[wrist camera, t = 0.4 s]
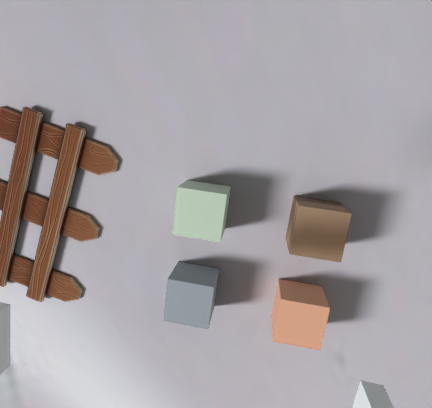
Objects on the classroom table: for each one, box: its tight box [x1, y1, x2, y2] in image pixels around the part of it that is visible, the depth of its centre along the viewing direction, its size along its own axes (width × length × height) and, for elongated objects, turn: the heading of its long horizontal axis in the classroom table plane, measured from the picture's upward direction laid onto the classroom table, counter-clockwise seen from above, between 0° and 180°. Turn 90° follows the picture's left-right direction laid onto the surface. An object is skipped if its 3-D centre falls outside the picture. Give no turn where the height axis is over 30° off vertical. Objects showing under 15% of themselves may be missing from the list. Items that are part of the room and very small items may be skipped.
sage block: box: [172, 180, 231, 242], centre depth 36 cm, size 5×5×5 cm
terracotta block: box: [271, 279, 330, 351], centre depth 37 cm, size 5×5×5 cm
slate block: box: [163, 262, 219, 329], centre depth 38 cm, size 5×5×5 cm
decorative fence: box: [0, 106, 119, 302], centre depth 41 cm, size 23×2×15 cm
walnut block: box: [286, 196, 352, 262], centre depth 35 cm, size 5×5×5 cm
